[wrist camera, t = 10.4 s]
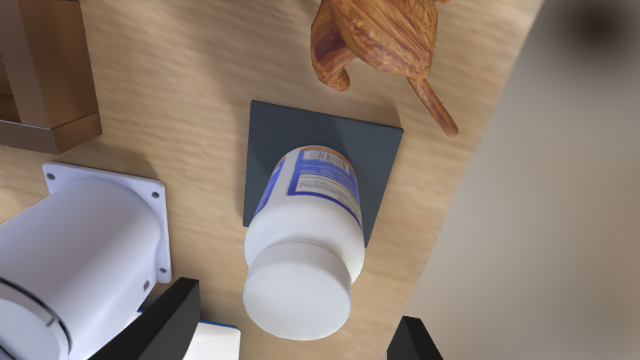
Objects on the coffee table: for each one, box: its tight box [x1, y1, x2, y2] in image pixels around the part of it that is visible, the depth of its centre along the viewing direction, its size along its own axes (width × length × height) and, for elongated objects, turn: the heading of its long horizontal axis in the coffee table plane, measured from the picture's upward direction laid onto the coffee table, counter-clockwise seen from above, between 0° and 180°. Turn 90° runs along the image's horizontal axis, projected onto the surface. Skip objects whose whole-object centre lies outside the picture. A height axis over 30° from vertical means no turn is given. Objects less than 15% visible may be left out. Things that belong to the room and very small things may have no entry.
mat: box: [243, 100, 404, 248], centre depth 20 cm, size 9×9×1 cm
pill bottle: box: [242, 145, 365, 340], centre depth 15 cm, size 5×5×10 cm
